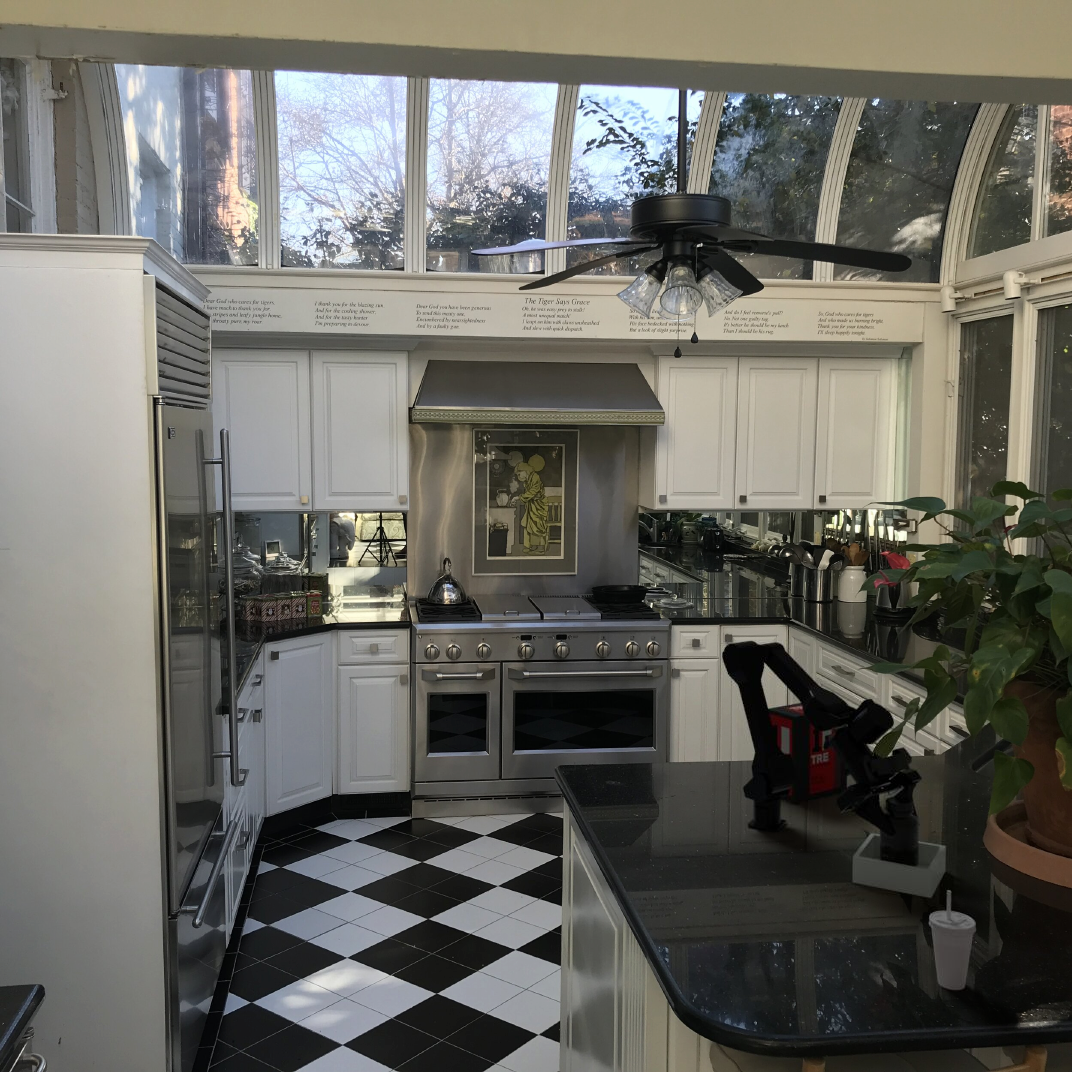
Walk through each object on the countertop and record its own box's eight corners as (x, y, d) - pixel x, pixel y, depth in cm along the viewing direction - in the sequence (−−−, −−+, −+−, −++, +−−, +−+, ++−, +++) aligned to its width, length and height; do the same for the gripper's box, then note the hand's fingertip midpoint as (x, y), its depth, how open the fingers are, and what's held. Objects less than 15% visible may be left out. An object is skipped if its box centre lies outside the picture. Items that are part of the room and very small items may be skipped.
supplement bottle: (900, 855, 192) (902, 792, 191) (926, 868, 186) (928, 804, 185) (871, 860, 189) (872, 797, 189) (896, 874, 183) (897, 808, 182)
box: (870, 857, 197) (871, 833, 196) (945, 871, 190) (945, 846, 189) (852, 882, 185) (852, 856, 185) (931, 898, 178) (931, 871, 178)
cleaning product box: (818, 781, 244) (818, 699, 242) (846, 791, 236) (847, 707, 235) (766, 793, 236) (766, 708, 234) (794, 804, 228) (794, 716, 226)
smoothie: (920, 974, 152) (921, 882, 151) (961, 971, 153) (962, 880, 152) (940, 996, 146) (942, 901, 145) (983, 993, 146) (985, 899, 145)
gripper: (849, 743, 184) (899, 820, 176) (914, 727, 194) (965, 799, 186) (814, 774, 191) (861, 850, 183) (879, 757, 201) (926, 828, 193)
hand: (905, 831), depth 186 cm, fingers closed on supplement bottle, 7 cm apart
